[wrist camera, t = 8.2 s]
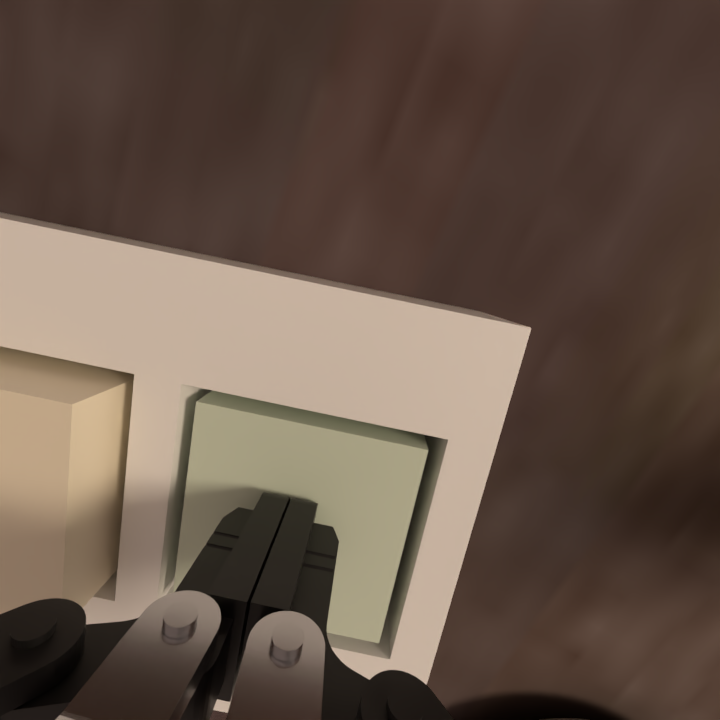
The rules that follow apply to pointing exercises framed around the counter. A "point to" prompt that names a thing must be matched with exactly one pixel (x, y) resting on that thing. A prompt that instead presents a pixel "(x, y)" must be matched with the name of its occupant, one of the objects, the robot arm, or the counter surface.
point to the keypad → (267, 394)
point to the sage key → (308, 491)
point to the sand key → (60, 476)
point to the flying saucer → (564, 719)
